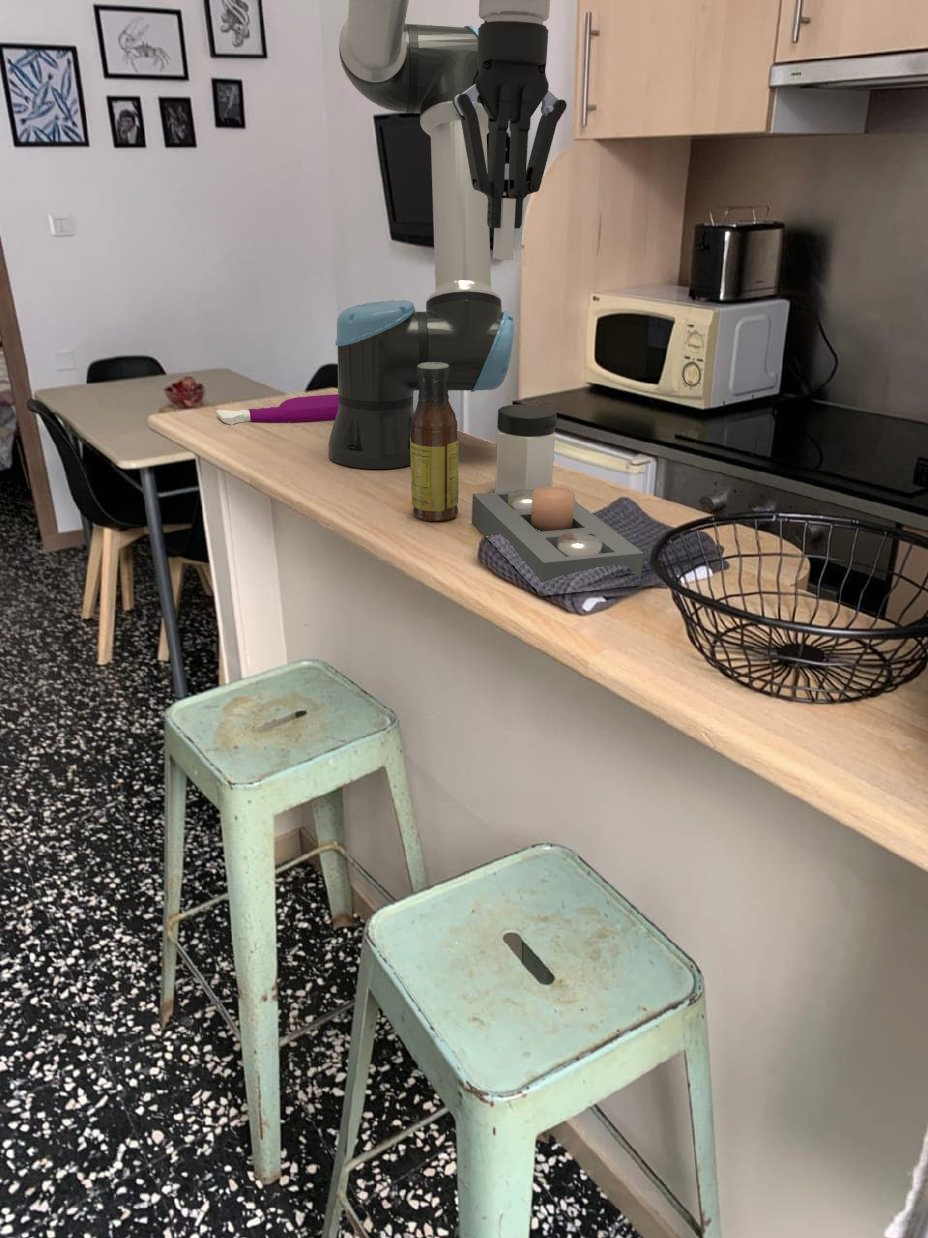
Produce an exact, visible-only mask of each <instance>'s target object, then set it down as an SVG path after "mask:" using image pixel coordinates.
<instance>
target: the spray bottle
mask: <svg viewBox="0 0 928 1238" xmlns="http://www.w3.org/2000/svg"><path fill="white" fill-rule="evenodd" d="M215 411H216V416H217V417H218V418H219V419H220V420H221V421H222V422H223V423H225V424H228V425H231V426H233V425H235V424H238V423H247V422H248V423H251V422H252V423H287V424H288V423H289V424H291V423H313V422H315V423H316V422H327V421H335V418H336V415H337V411H338V393H337V394H324V395H323V394H321V395H308V396H306V395H305V396H299V397H293V398H288V399H286V400H283V402H281V403H280V404H279V406H276V407H275V406H270V407H260V408H248V409H242V410H241V409H240V410H228V409H217V410H215Z"/></svg>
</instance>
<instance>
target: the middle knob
mask: <svg viewBox="0 0 928 1238" xmlns="http://www.w3.org/2000/svg"><path fill="white" fill-rule="evenodd" d="M575 499H576V493H575V492H574V491H572V490H570V489H568V488H565V487H561V486H560V487H559V486H551V487H542V488H537V489H535V490H534V491H533V497H532V512H531V526H532V527H533V528H535V529H537V530H540V531H553V530H565V529H571V528H572V525H573V513H574V501H576V500H575Z"/></svg>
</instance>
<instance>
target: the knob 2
mask: <svg viewBox="0 0 928 1238" xmlns="http://www.w3.org/2000/svg"><path fill="white" fill-rule="evenodd" d="M557 549H558V550H559V551H560V552H561V553H562V554H563V555H564V556H565V557H570V556H581V555H591V554H601V549H602V541H601V540H600V539H599V538H597V537H595V536H592V535H588V534H581V533H570V534H565V535H562V536H560V537H559V538H558V541H557Z"/></svg>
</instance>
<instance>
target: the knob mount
mask: <svg viewBox="0 0 928 1238" xmlns="http://www.w3.org/2000/svg"><path fill="white" fill-rule="evenodd" d="M534 490H535V489H534ZM534 490H520V491H534ZM512 492H516V491H506V492H495V491H494V492H482V493H479V492H478V493H472V501H471V502H472V503H471V505H472V506H471V524H472V525H473V527H475V529H477V531H479V533H480V534H481V535H482V536H483V537H484V538H485V537H486V536H491V535H499V534H501V535H502V536H503V537H505V538H506V539H507V540H508V541H509V542H510V544H511V545H512V546H513V548H514V549H515V550H516V552H517V553H518V554H519V556H520V557H521V558H522V560H523V561H525V563H527V565H528V566H529V567H530V568H531V569H532V570H533V572H534V573H535V575H536V576H537V577H538V578H539V579H540V581H541V582H542V583H543V582H545V581H548V580H550V579H552V578H556V577H559V576H562V575H563V576H564V575H569V574H572V573H575V572H577V571H583V570H588V569H591V568H592V569H593V568H596V567H602V566H609V565H612V566H613V565H625V566H629V567H630V568H631V569H630V570H632V571H630V572H632V573H630V574H635V575H636V576H639V577H641V578H642V572H643V571H642V570H643V563H644V552H643V551H642V550H641V549H639V548H638V547H636V546H635V545H634V544H633V543H631V542H630V541H629V540H627V538H625V537H624V536H622V535H620V533H618V532H617V531H616V530H614V529H613V528H612V527H610V526H609V525H608V524H606V523H605V522H604V521H603V520H601V519H600V518H599V517H597V516H596V515H594V514H593V513H592V512H591V511H590V510H588V509H587V508H585V507H584V506H583V505H582V504H580V503H579V502H578V501H576V500H575V501H574V513H573V525H572V528H571V529H565V530H553V531H542V532H538V531H537V530H536V529H535V528H533V527H532V526H531V512H532V508H529V509H516V510H513V509H512V508H511V507H510V506H509V505H508V495H509V494H510V493H512ZM570 533H581V534H588V535H592V536H595V537H597V538H599V539H600V540H601V541H602V549H601V554H591V555H581V556H570V557H565V556H564V555H563V554H562V553H561V552H560V551H559V550H558V549H557V541H558V538H559V537H560V536H562V535H565V534H570Z"/></svg>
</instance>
